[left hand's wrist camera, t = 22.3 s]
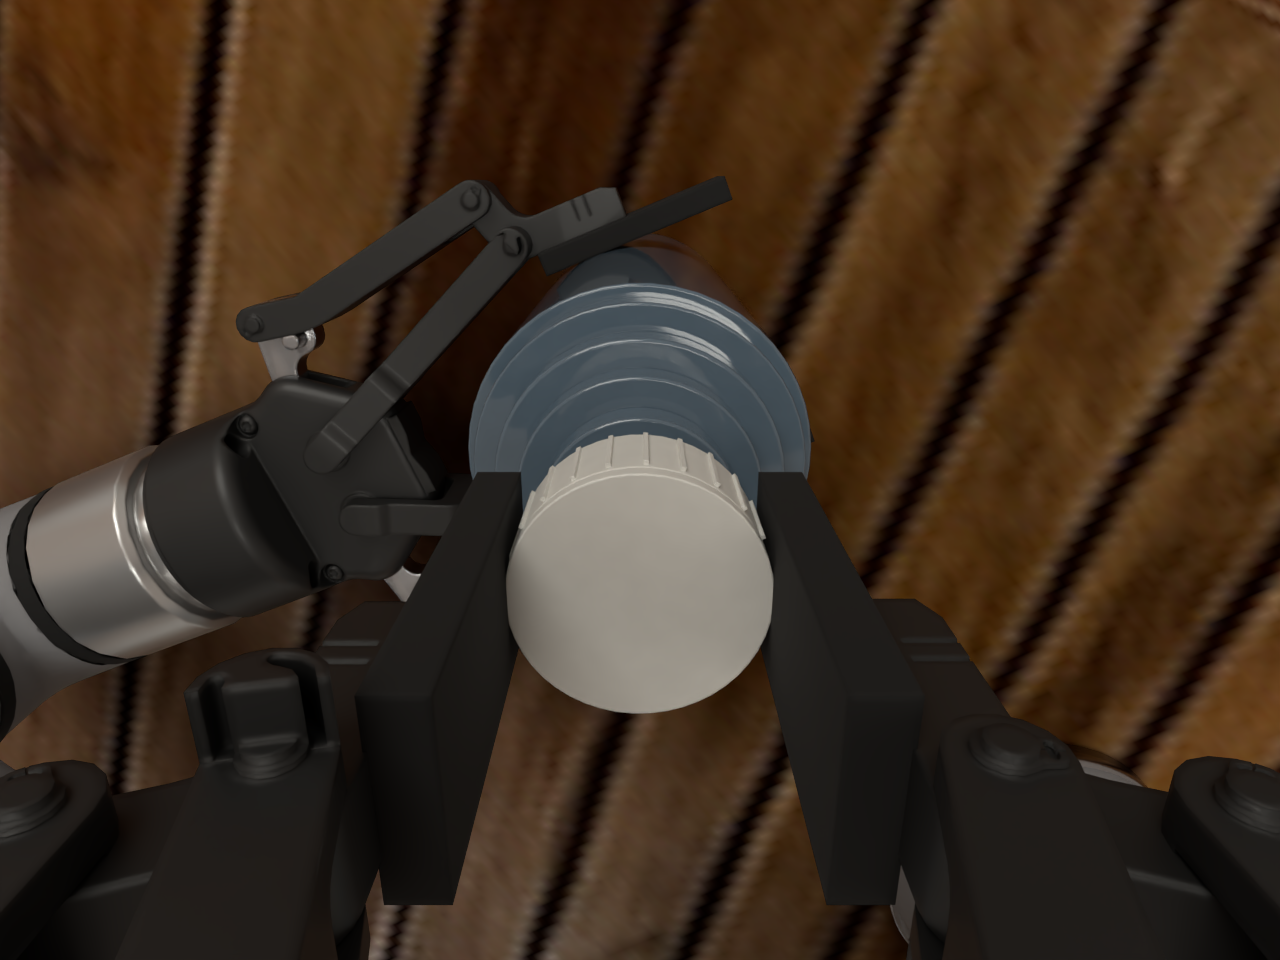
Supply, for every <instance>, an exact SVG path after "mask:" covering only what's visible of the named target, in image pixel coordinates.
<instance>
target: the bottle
mask: <svg viewBox="0 0 1280 960" xmlns="http://www.w3.org/2000/svg"><path fill="white" fill-rule="evenodd" d="M643 432H647V433H648V435H654V436H663V437H667V438H671V439H675V440H677V439H678V438H680V439H682V440H683V442H684V443H687V444H689V445H692V446H694V447H696V448H698V449H700V450H701V451H703V452H705V453H707V454H708V453H709V452H710V453H712V454H713V457H714V459H715V460H717V461H718V462H719V463H720V464H722V465H723V466H724V467H725V468H726V469H727V470H728V471H729V472H730V473H731V474H732V475H733V474H734V473H735V474H736V475H737V477H738V480H739V483H740V486H741V487H742V489H743V491H744V493H745V494H746V496H747V498H748V500H749V501H751V500H753V503H754V505H755V508H756V510H757V491H758V472H802V473H803V475H804V476H805V478H806V480H807V477H808V473H809V468H810V456H811V435H810V423H809V418H808V413H807V409H806V404H805V401H804V398H803V395H802V392H801V390H800V387H799V384H798V382H797V380H796V378H795V376H794V374H793V372H792V370H791V368H790V366H789V365H788V363H787V361H786V360H785V359H784V357H783V356H782V354H781V353H780V352H779V350H778V349H777V347H776V346H775V345H774V343H773V342H772V341H771V340H770V338H769V337H768V336H767V335H766V333H765V332H764V331H763V330H762V328H761V327H760V326H759V325H758V324H757V322H756V321H755V320H754V319H753V317H752V316H751V315H750V314H749V312H748V311H747V310H746V309H745V307H744V306H743V305H742V304H741V302H740V301H739V300H738V299H737V297H736V296H735V295H734V294H733V293H732V291H731V290H730V289H729V288H728V286H727V285H726V284H725V283H724V281H723V280H722V279H721V278H720V276H719V275H718V274H717V273H716V271H715V270H714V269H713V268H712V267H711V265H710V264H709V263H708V262H707V261H706V260H705V259H704V258H703V257H702V256H700V255H699V254H698V253H697V252H695V251H694V250H693V249H691V248H690V247H688V246H686V245H685V244H683V243H681V242H679V241H676V240H674V239H672V238H668V237H665V236H661V235H657V234H648V235H645V236H643V237H640V238H638V239H636V240H633V241H631V242H628V243H626V244H624V245H621V246H619V247H616V248H614V249H611V250H609V251H607V252H604V253H602V254H599V255H597V256H595V257H592V258H590V259H587V260H585V261H583V262H580V263H578V264H575V265H573V266H570V267H568V268H567V269H566V270H565V271H564V272H563V274H562V275H561V276H560V277H559V279H558V280H557V281H556V282H555V283H554V285H553V286H552V287H551V288H550V290H549V291H548V292H547V293H546V295H545V296H544V297H543V298H542V299H541V301H540V302H539V303H538V304H537V306H536V307H535V308H534V309H533V311H532V312H531V313H530V314H529V316H528V317H527V318H526V319H525V320H524V322H523V323H522V324H521V325H520V327H519V328H518V329H517V330H516V332H515V333H514V334H513V335H512V336H511V338H510V339H509V340H508V341H507V343H506V344H505V345H504V347H503V348H502V349H501V351H500V352H499V354H498V355H497V356H496V358H495V359H494V361H493V362H492V363H491V365H490V367H489V369H488V371H487V373H486V375H485V377H484V379H483V381H482V383H481V385H480V388H479V391H478V394H477V397H476V399H475V402H474V406H473V411H472V416H471V421H470V426H469V443H468V450H469V462H470V471H471V475H472V480H473V479H474V477H475V475H476V474H477V472H521V483H522V501H523V513H524V510H525V507H526V504H527V501H528V498H529V495H530V493H531V491H534V492H535V491H536V489H537V488H538V486H539V485H540V484H541V482H542V481H543V480H544V478H545V477H546V476H547V475H548V471H549V468H550V467H551V466H552V465H553V466H554V467H556V466H557V465H558V464H559V463H560V462H561V461H563V460H564V459H565V458H567V457H568V456H569V455H571V454H573V453H574V452H576V448H578V447H580V446H581V448H583V447H585V446H588V445H590V444H593V443H595V442H597V441H601V440H605V439H608V436H610V435H613V436H614V437H617V436H625V435H643Z"/></svg>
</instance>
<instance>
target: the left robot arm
mask: <svg viewBox="0 0 1280 960" xmlns="http://www.w3.org/2000/svg"><path fill="white" fill-rule="evenodd" d="M756 511H757V514H758V517H759V519H760V522H761V525H762V528H763V531H764V534H765V537H766V539H764V540H763V542H764V545H765V548H766V551H767V554H768V557H769V560H770V564H771V568H772V572H773V599H772V614H771V623H770V626H769V628H768V631H767V634H766V637H765V639H764V641H763V642H762V644H761V646H760V647H761V651H762V654H763V658H764V662H765V666H766V670H767V674H768V678H769V682H770V686H771V690H772V693H773V697H774V701H775V705H776V709H777V713H778V717H779V721H780V725H781V729H782V732H783V736H784V740H785V744H786V748H787V752H788V756H789V760H790V764H791V768H792V771H793V775H794V779H795V783H796V787H797V791H798V795H799V799H800V803H801V807H802V810H803V814H804V818H805V822H806V826H807V830H808V834H809V838H810V842H811V846H812V849H813V853H814V857H815V861H816V865H817V869H818V873H819V877H820V881H821V885H822V889H823V892H824V896H825V900H826V904H827V905H889V906H890V908H891V911H892V914H893V917H894V920H895V923H896V925H897V927H898V929H899V931H900V933H901V934H902V936H903V937H904V939H905V940H906V942H907V943H908V951H907V957H906V960H1280V773H1278V772H1276V771H1274V770H1272V769H1270V768H1267V767H1264V766H1261V765H1258V764H1252V763H1251V762H1247V761H1243V760H1238V759H1232V758H1222V757H1212V756H1206V757H1200V758H1195V759H1189V760H1186V761H1185V762H1184V763H1182V764H1181V765H1180V766H1179V767H1178V768H1177V769H1175V770H1174V774H1173V778H1172V781H1171V785H1170V788H1169V792H1165V791H1160V790H1156V789H1151V788H1148V787H1147V786H1146V785H1145V784H1144V783H1143V782H1142V780H1141V779H1140V778H1139V777H1138V776H1137V775H1136V774H1135V773H1133V772H1132V771H1131V770H1130V769H1129V768H1127V767H1126V766H1124V765H1123V764H1122V763H1120V762H1118V761H1116V760H1115V759H1113V758H1111V757H1109V756H1107V755H1104V754H1102V753H1100V752H1097V751H1094V750H1091V749H1088V748H1084V747H1079V746H1075V745H1068V744H1065V743H1063V742H1062V741H1061V740H1059V739H1058V738H1057V737H1055V736H1054V735H1052V734H1051V733H1050V732H1048V731H1047V730H1044V729H1042V728H1040V727H1038V726H1035V725H1033V724H1031V723H1028V722H1026V721H1024V720H1021V719H1016V718H1012V717H1010V715H1009V714H1008V712H1007V711H1006V710H1005V708H1004V707H1003V705H1002V704H1001V702H1000V701H999V699H998V698H997V696H996V695H995V694H994V692H993V691H992V689H991V688H990V686H989V685H988V683H987V682H986V680H985V679H984V677H983V676H982V675H981V673H980V672H979V670H978V669H977V667H976V666H975V664H974V663H973V661H970V660H969V656H968V654H967V653H966V651H965V650H964V648H963V647H962V645H961V644H960V643H957V638H956V637H955V635H954V634H953V632H952V631H951V629H950V628H949V627H948V625H947V624H946V622H945V621H944V619H943V618H942V617H941V616H939V615H938V614H936V613H935V612H934V611H932V610H931V609H929V608H928V607H926V606H925V605H923V604H922V603H920V602H919V601H917V600H916V599H872V598H871V597H870V595H869V593H868V591H867V589H866V587H865V586H864V584H863V582H862V580H861V578H860V577H859V575H858V573H857V571H856V569H855V567H854V566H853V564H852V562H851V560H850V558H849V557H848V555H847V553H846V551H845V549H844V547H843V546H842V544H841V542H840V540H839V538H838V537H837V535H836V533H835V531H834V529H833V527H832V526H831V524H830V522H829V520H828V518H827V516H826V515H825V513H824V511H823V509H822V507H821V506H820V504H819V502H818V500H817V498H816V496H815V495H814V493H813V491H812V489H811V487H810V486H809V484H808V482H807V480H806V478H805V476H804V475H803V473H802V472H758V491H757V510H756ZM522 516H523V501H522V483H521V472H477V474H476V475H475V477H474V479H473V481H472V483H471V485H470V486H469V488H468V490H467V492H466V494H465V495H464V497H463V499H462V501H461V503H460V505H459V506H458V508H457V510H456V512H455V514H454V515H453V517H452V519H451V521H450V523H449V525H448V526H447V528H446V530H445V532H444V534H443V535H442V537H441V539H440V541H439V543H438V545H437V546H436V548H435V550H434V552H433V554H432V555H431V557H430V559H429V561H428V563H427V565H426V566H425V568H424V570H423V572H422V574H421V575H420V577H419V579H418V581H417V583H416V585H415V586H414V588H413V590H412V592H411V594H410V595H409V597H408V599H407V601H384V602H363V603H362V604H360V605H359V606H358V607H356V608H355V609H353V610H352V611H350V612H349V613H347V614H346V615H344V616H343V617H341V618H340V619H338V620H337V622H336V623H335V625H334V626H333V628H332V629H331V630H330V632H329V633H328V635H327V636H326V638H325V639H324V641H323V646H320V647H319V648H318V650H317V651H316V652H311V651H307V650H303V649H299V648H270V649H265V650H260V651H255V652H250V653H245V654H242V655H240V656H237V657H234V658H232V659H229V660H226V661H224V662H221V663H219V664H217V665H215V666H214V667H212V668H211V669H209V670H208V671H206V672H204V673H203V674H201V675H200V676H198V677H197V678H196V679H195V680H194V681H193V682H192V683H191V685H190V686H189V687H188V688H187V689H186V690H185V692H184V697H185V701H186V706H187V710H188V714H189V719H190V723H191V728H192V732H193V736H194V741H195V745H196V749H197V754H198V758H199V763H200V764H199V767H198V769H197V771H196V774H195V776H194V777H191V778H188V779H184V780H181V781H177V782H173V783H169V784H165V785H160V786H155V787H151V788H146V789H141V790H136V791H132V792H127V793H122V794H117V795H113V796H112V794H111V791H110V787H109V784H108V780H107V777H106V774H105V773H104V772H103V771H102V770H100V769H99V768H98V767H97V766H96V765H95V764H92V763H87V762H81V761H76V760H66V761H56V762H46V763H41V764H37V765H32V766H29V767H27V768H22V769H19V770H16V771H13V772H10V773H8V774H6V775H5V776H3V777H0V960H368V956H369V947H370V933H369V925H368V918H367V912H366V905H365V903H366V901H367V898H368V895H369V893H370V890H371V887H372V885H373V882H374V879H375V877H376V874H377V872H378V869H379V873H380V880H381V887H382V894H383V901H384V905H453V902H454V898H455V894H456V890H457V886H458V882H459V879H460V875H461V871H462V867H463V863H464V859H465V855H466V851H467V847H468V843H469V840H470V836H471V832H472V828H473V824H474V820H475V816H476V812H477V808H478V804H479V801H480V797H481V793H482V789H483V785H484V781H485V777H486V773H487V769H488V765H489V762H490V758H491V754H492V750H493V746H494V742H495V738H496V734H497V730H498V726H499V723H500V719H501V715H502V711H503V707H504V703H505V699H506V695H507V691H508V687H509V684H510V680H511V676H512V672H513V668H514V664H515V660H516V656H517V652H518V649H519V646H518V644H517V642H516V640H515V639H514V636H513V633H512V631H511V628H510V626H509V621H508V607H507V591H506V573H507V568H508V564H509V555H510V552H511V549H512V546H513V543H514V540H515V537H516V534H517V531H518V527H519V524H520V521H521V518H522Z"/></svg>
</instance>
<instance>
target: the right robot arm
mask: <svg viewBox="0 0 1280 960" xmlns="http://www.w3.org/2000/svg"><path fill="white" fill-rule="evenodd" d="M730 200H732V197H731V194H730V191H729V188H728V185H727V182H726V179H725V176H717V177H714V178H712V179H709V180H707V181H705V182H702V183H700V184H698V185H695V186H693V187H690V188H688V189H686V190H683V191H681V192H678V193H676V194H674V195H671V196H669V197H667V198H664V199H662V200H659V201H657V202H655V203H652V204H650V205H647V206H645V207H643V208H640V209H638V210H636V211H633V212H631V213H628V214H627V213H626V211H625V208H624V206H623V203H622V200H621V198H620V195H619V193H618V190H617V187H601V188H598V189H595V190H593V191H591V192H588V193H586V194H583V195H581V196H579V197H576V198H574V199H572V200H569V201H567V202H565V203H562V204H560V205H558V206H555V207H553V208H551V209H548V210H546V211H544V212H541V213H539V214H536V215H524V214H522V213H520V212H518V211H516V210H515V209H514V208H513V207H512V206H511V205H510V204H509V202H508V201H507V200H506V199H505V198H504V197H503V196H502V195H501V194H500V192H499V189H498V188H497V187H496V186H495V185H494V184H493V183H492V182H489V181H487V180H466V181H464V182H461V183H459V184H458V185H456V186H455V187H453V188H452V189H450V190H449V191H448V192H446V193H445V194H443V195H442V196H440V197H439V198H437V199H436V200H435V201H433V202H432V203H430V204H429V205H427V206H426V207H424V208H423V209H421V210H420V211H419V212H417V213H416V214H414V215H413V216H411V217H410V218H408V219H407V220H406V221H404V222H403V223H401V224H400V225H398V226H397V227H395V228H394V229H392V230H391V231H390V232H388V233H387V234H385V235H384V236H382V237H381V238H379V239H378V240H377V241H375V242H374V243H372V244H371V245H369V246H368V247H366V248H365V249H363V250H362V251H361V252H359V253H358V254H356V255H355V256H353V257H352V258H350V259H349V260H348V261H346V262H345V263H343V264H342V265H340V266H339V267H337V268H336V269H334V270H333V271H332V272H330V273H329V274H327V275H326V276H324V277H323V278H321V279H320V280H319V281H317V282H316V283H314V284H313V285H311V286H310V287H308V288H307V289H305V290H304V291H303V292H301V293H296V294H291V295H287V296H282V297H278V298H274V299H271V300H268V301H265V302H262V303H259V304H256V305H253V306H250V307H247V308H245V309H243V310H241V311H240V312H239V314H238V315H237V319H236V325H237V329H238V331H239V333H240V334H241V335H242V336H243V337H244V338H245V339H246V340H249V341H251V342H258V344H259V347H260V349H261V352H262V355H263V357H264V360H265V363H266V366H267V368H268V371H269V374H270V376H271V379H272V382H271V383H270V384H269V385H268V386H267V387H266V388H265V390H264V391H263V393H262V394H261V396H260V397H259V398H258V399H257V400H256V401H255V402H253V403H251V404H248V405H246V406H244V407H241V408H239V409H236V410H234V411H232V412H229V413H227V414H224V415H222V416H220V417H217V418H215V419H212V420H210V421H208V422H205V423H203V424H200V425H198V426H196V427H193V428H191V429H188V430H186V431H183V432H181V433H179V434H176V435H174V436H172V437H169V438H167V439H166V440H164V441H163V442H162V443H161V444H160V445H156V446H147V447H145V448H142V449H140V450H138V451H135V452H133V453H130V454H128V455H125V456H123V457H121V458H118V459H116V460H113V461H111V462H109V463H106V464H104V465H101V466H99V467H96V468H94V469H92V470H89V471H87V472H84V473H82V474H79V475H77V476H75V477H72V478H70V479H67V480H65V481H63V482H60V483H58V484H56V485H55V486H53V487H51V488H49V489H46V490H44V491H42V492H40V493H39V494H37V495H35V496H32V497H30V498H27V499H25V500H22V501H19V502H17V503H14V504H12V505H9V506H6V507H4V508H1V509H0V742H1V741H2V740H3V738H4V737H5V736H6V735H7V734H8V733H9V732H10V731H11V730H12V729H13V728H14V727H16V726H17V725H18V724H19V723H20V722H21V721H22V720H23V719H25V718H26V717H27V716H28V715H29V714H30V713H31V712H33V711H34V710H35V709H36V708H37V707H38V706H39V705H41V704H42V703H43V702H44V701H45V700H47V699H48V698H49V697H51V696H52V695H54V694H55V693H57V692H59V691H60V690H62V689H64V688H66V687H67V686H69V685H72V684H74V683H76V682H79V681H81V680H84V679H86V678H89V677H92V676H94V675H97V674H99V673H102V672H104V671H107V670H110V669H112V668H115V667H117V666H120V665H123V664H125V663H128V662H130V661H133V660H136V659H139V658H142V657H145V656H147V655H149V654H152V653H154V652H157V651H160V650H163V649H165V648H168V647H171V646H174V645H176V644H179V643H182V642H185V641H187V640H190V639H193V638H196V637H198V636H201V635H204V634H206V633H209V632H212V631H215V630H217V629H220V628H223V627H226V626H228V625H231V624H234V623H236V622H237V621H238V620H239V619H240V618H242V617H250V616H255V615H257V614H260V613H263V612H265V611H268V610H271V609H273V608H276V607H279V606H281V605H284V604H287V603H289V602H292V601H295V600H297V599H300V598H303V597H305V596H308V595H311V594H314V593H316V592H319V591H322V590H324V589H327V588H329V587H331V586H334V585H336V584H338V583H341V582H343V581H346V580H350V579H368V580H385V581H386V583H387V584H388V585H389V586H390V587H391V589H392V590H393V591H394V592H395V594H396V595H397V596H398V597H399V599H400V600H401V601H407V599H408V597H409V595H410V594H411V592H412V590H413V588H414V586H415V585H416V583H417V581H418V579H419V577H420V575H421V574H422V572H423V570H424V568H425V566H426V565H427V564H419V563H417V562H415V561H413V560H412V559H411V558H410V557H409V555H410V554H411V552H412V550H413V549H414V547H415V545H416V543H417V542H418V540H419V538H420V537H421V535H429V536H442V535H443V534H444V532H445V530H446V528H447V526H448V525H449V523H450V521H451V519H452V517H453V515H454V514H455V512H456V510H457V508H458V506H459V505H460V503H461V501H462V499H463V497H464V495H465V494H466V492H467V490H468V488H469V486H470V485H471V483H472V481H473V480H472V475H471V474H458V473H447V470H446V468H445V466H444V464H443V462H442V460H441V458H440V456H439V454H438V453H437V452H436V451H435V450H434V449H433V448H432V446H431V445H430V444H429V443H428V442H427V441H426V439H425V437H424V433H423V428H422V424H421V419H420V417H419V415H418V413H417V411H416V409H415V407H414V405H413V403H412V401H409V402H407V403H406V401H405V400H404V399H403V398H404V397H405V396H406V395H407V393H408V392H409V391H410V390H411V389H412V388H413V387H414V386H415V385H416V384H417V382H418V381H419V380H420V379H421V378H422V377H423V376H424V374H425V373H426V372H427V371H428V370H429V369H430V368H431V366H432V365H433V364H434V363H435V362H436V361H437V360H438V359H439V358H440V357H441V355H442V354H443V353H444V352H445V351H446V350H447V349H448V348H449V347H450V346H451V344H452V343H453V342H454V341H455V340H456V339H457V338H458V337H459V336H460V334H461V333H462V332H463V331H464V330H465V329H466V328H467V327H468V326H469V325H470V323H471V322H472V321H473V320H474V319H475V318H476V317H477V316H478V315H479V314H480V312H481V311H482V310H483V309H484V308H485V307H486V306H487V305H488V304H489V303H490V301H491V300H492V299H493V298H494V297H495V296H496V295H497V294H498V293H499V292H500V290H501V289H502V288H503V287H504V286H505V285H506V284H507V283H508V282H509V281H510V279H511V278H512V277H513V276H514V275H515V274H516V273H517V272H518V271H519V270H520V268H521V267H522V266H523V265H524V264H525V263H526V262H527V261H528V260H529V259H530V258H532V257H534V256H537V255H538V257H539V259H540V261H541V264H542V266H543V268H544V271H545V273H546V275H547V276H549V275H551V274H554V273H556V272H558V271H561V270H563V269H566V268H568V267H570V266H573V265H575V264H578V263H580V262H583V261H585V260H587V259H590V258H592V257H595V256H597V255H599V254H602V253H604V252H607V251H609V250H611V249H614V248H616V247H619V246H621V245H624V244H626V243H628V242H631V241H633V240H636V239H638V238H640V237H643V236H645V235H648V234H650V233H653V232H655V231H657V230H660V229H662V228H665V227H667V226H669V225H672V224H674V223H677V222H679V221H681V220H684V219H686V218H689V217H691V216H694V215H696V214H698V213H701V212H703V211H706V210H708V209H710V208H713V207H715V206H718V205H720V204H722V203H725V202H727V201H730ZM473 227H475V228H476V229H477V230H478V231H479V232H480V233H481V234H482V236H483V237H484V238H485V239H486V240H487V241H488V242H489V244H488V245H487V246H486V247H485V248H484V249H483V251H482V252H481V253H480V254H479V255H478V256H477V257H476V258H475V260H474V261H473V262H472V263H471V264H470V265H469V266H468V267H467V269H466V270H465V271H464V272H463V273H462V274H461V275H460V276H459V278H458V279H457V280H456V281H455V282H454V283H453V284H452V285H451V287H450V288H449V289H448V290H447V291H446V292H445V293H444V295H443V296H442V297H441V298H440V299H439V300H438V301H437V302H436V304H435V305H434V306H433V307H432V308H431V309H430V310H429V311H428V313H427V314H426V315H425V316H424V317H423V318H422V319H421V320H420V322H419V323H418V324H417V325H416V326H415V327H414V328H413V329H412V331H411V332H410V333H409V334H408V335H407V336H406V337H405V339H404V340H403V341H402V342H401V343H400V344H399V345H398V346H397V348H396V349H395V350H394V351H393V352H392V353H391V354H390V355H389V357H388V358H387V359H386V360H385V361H384V362H383V363H382V364H381V365H380V366H379V367H378V368H377V369H376V370H375V371H374V372H373V373H372V374H371V375H370V376H369V377H368V379H367V380H366V381H365V382H364V383H361V382H357V381H352V380H348V379H344V378H340V377H336V376H332V375H327V374H323V373H319V372H315V371H311V370H308V369H307V365H306V362H307V357H308V355H309V354H310V353H311V352H312V351H313V350H315V349H317V348H319V347H320V346H321V345H322V344H323V342H324V340H325V332H324V328H323V325H322V324H324V323H326V322H328V321H331V320H333V319H335V318H337V317H339V316H341V315H343V314H345V313H347V312H348V311H350V310H352V309H353V308H355V307H356V306H358V305H359V304H361V303H362V302H364V301H365V300H367V299H368V298H370V297H371V296H373V295H374V294H375V293H377V292H378V291H380V290H381V289H383V288H384V287H386V286H387V285H389V284H390V283H392V282H393V281H395V280H396V279H398V278H399V277H401V276H402V275H404V274H405V273H407V272H408V271H410V270H411V269H413V268H414V267H415V266H417V265H418V264H420V263H421V262H423V261H424V260H426V259H427V258H429V257H430V256H432V255H433V254H435V253H436V252H438V251H439V250H441V249H442V248H444V247H445V246H447V245H448V244H450V243H451V242H453V241H454V240H455V239H457V238H458V237H460V236H461V235H463V234H464V233H466V232H467V231H469V230H470V229H472V228H473ZM810 435H811V442H814V438H813V435H812V432H811V429H810ZM13 771H15V770H14V769H13V768H11V767H10V766H8V765H7V764H5V763H4V762H2V761H1V760H0V777H3V776H5V775H6V774H8V773H10V772H13Z"/></svg>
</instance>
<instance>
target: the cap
mask: <svg viewBox="0 0 1280 960" xmlns="http://www.w3.org/2000/svg"><path fill="white" fill-rule="evenodd" d="M764 539H766V537H765V534H764V531H763V528H762V525H761V522H760V519H759V517H758V514H757V511H756V508H755V505H754V503H753V500H751V501H749V500H748V498H747V496H746V494H745V493H744V491H743V489H742V487H741V486H740V483H739V480H738V477H737V475H736V474H735V473H734V474H733V475H732V474H731V473H730V472H729V471H728V470H727V469H726V468H725V467H724V466H723V465H722V464H720V463H719V462H718V461H717V460H715V459H714V457H713V454H712V453H710V452H709V453H708V454H707V453H705V452H703V451H701V450H700V449H698V448H696V447H694V446H692V445H689V444H687V443H684V442H683V440H682V439H680V438H678V439H677V440H675V439H671V438H667V437H663V436H654V435H648V433H647V432H643V435H625V436H617V437H614V436H613V435H610V436H608V439H605V440H601V441H597V442H595V443H593V444H590V445H588V446H585V447H583V448H581V446H580V447H578V448H576V452H574V453H573V454H571V455H569V456H568V457H567V458H565V459H564V460H563V461H561V462H560V463H559V464H558V465H557V466H556V467H554V466H553V465H552V466H551V467H550V468H549V471H548V475H547V476H546V477H545V478H544V480H543V481H542V482H541V484H540V485H539V486H538V488H537V489H536V491H535V492H534V491H531V493H530V495H529V498H528V501H527V504H526V507H525V510H524V513H523V516H522V518H521V521H520V524H519V527H518V531H517V534H516V537H515V540H514V543H513V546H512V549H511V552H510V555H509V564H508V568H507V573H506V591H507V607H508V621H509V626H510V628H511V631H512V633H513V636H514V639H515V640H516V642H517V644H518V646H519V648H520V650H521V651H522V653H523V654H524V656H525V657H526V659H527V660H528V661H529V663H530V664H531V665H532V666H533V667H534V669H535V670H536V671H537V672H538V673H539V674H540V675H541V676H542V677H543V678H544V679H546V680H547V681H548V682H549V683H551V684H552V685H553V686H554V687H556V688H557V689H559V690H561V691H562V692H564V693H565V694H567V695H569V696H570V697H573V698H575V699H577V700H579V701H581V702H583V703H586V704H589V705H592V706H595V707H598V708H601V709H606V710H611V711H615V712H624V713H655V712H664V711H669V710H673V709H678V708H682V707H685V706H688V705H690V704H693V703H696V702H698V701H700V700H702V699H704V698H706V697H709V696H711V695H713V694H714V693H716V692H717V691H719V690H720V689H722V688H723V687H725V686H726V685H727V684H729V683H730V682H731V681H732V680H733V679H735V678H736V677H737V676H738V675H739V674H740V673H741V672H742V671H743V670H744V669H745V668H746V666H747V665H748V664H749V663H750V662H751V660H752V659H753V657H754V656H755V655H756V653H757V652H758V650H759V648H760V646H761V644H762V642H763V641H764V639H765V637H766V634H767V631H768V628H769V626H770V623H771V614H772V599H773V572H772V568H771V564H770V560H769V557H768V554H767V551H766V548H765V545H764V542H763V540H764Z"/></svg>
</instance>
